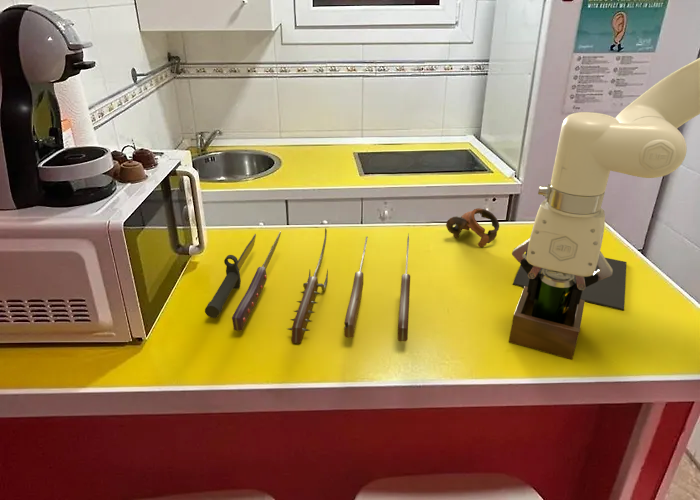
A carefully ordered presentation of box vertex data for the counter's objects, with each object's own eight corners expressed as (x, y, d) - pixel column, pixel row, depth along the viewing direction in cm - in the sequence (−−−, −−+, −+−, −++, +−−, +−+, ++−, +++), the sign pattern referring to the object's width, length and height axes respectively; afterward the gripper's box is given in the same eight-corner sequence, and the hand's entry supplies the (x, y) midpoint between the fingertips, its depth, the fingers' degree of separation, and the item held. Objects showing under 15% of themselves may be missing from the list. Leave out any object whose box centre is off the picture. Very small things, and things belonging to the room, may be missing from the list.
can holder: (578, 326, 91) (585, 300, 88) (572, 359, 83) (579, 331, 80) (519, 311, 94) (524, 286, 92) (508, 342, 87) (513, 314, 84)
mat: (626, 263, 111) (626, 261, 111) (623, 310, 95) (624, 309, 95) (529, 243, 119) (530, 242, 118) (512, 284, 103) (512, 283, 103)
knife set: (411, 252, 112) (412, 220, 108) (406, 355, 84) (408, 317, 80) (254, 245, 116) (250, 214, 112) (199, 341, 88) (191, 304, 84)
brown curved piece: (476, 228, 127) (495, 206, 121) (488, 259, 122) (508, 238, 116) (434, 222, 122) (451, 199, 116) (444, 254, 117) (463, 232, 111)
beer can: (527, 339, 87) (539, 278, 82) (529, 322, 92) (541, 262, 86) (560, 347, 85) (576, 284, 80) (561, 328, 90) (575, 268, 84)
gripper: (510, 197, 77) (494, 299, 86) (638, 219, 71) (607, 327, 79) (520, 181, 83) (504, 278, 92) (638, 200, 77) (609, 303, 85)
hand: (552, 300), depth 85 cm, fingers closed on beer can, 5 cm apart
